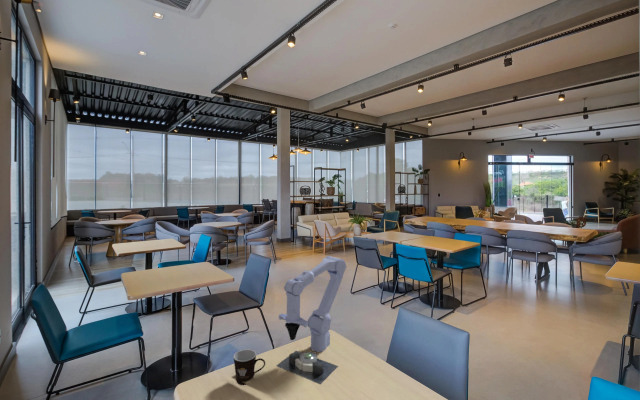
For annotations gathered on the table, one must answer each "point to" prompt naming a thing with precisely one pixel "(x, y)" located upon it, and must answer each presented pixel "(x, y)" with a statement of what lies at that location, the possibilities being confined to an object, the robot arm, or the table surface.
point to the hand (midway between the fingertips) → (292, 339)
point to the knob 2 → (313, 368)
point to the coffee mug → (245, 365)
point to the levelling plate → (310, 374)
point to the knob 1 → (295, 360)
